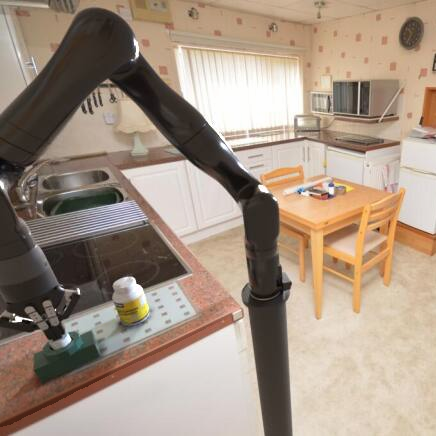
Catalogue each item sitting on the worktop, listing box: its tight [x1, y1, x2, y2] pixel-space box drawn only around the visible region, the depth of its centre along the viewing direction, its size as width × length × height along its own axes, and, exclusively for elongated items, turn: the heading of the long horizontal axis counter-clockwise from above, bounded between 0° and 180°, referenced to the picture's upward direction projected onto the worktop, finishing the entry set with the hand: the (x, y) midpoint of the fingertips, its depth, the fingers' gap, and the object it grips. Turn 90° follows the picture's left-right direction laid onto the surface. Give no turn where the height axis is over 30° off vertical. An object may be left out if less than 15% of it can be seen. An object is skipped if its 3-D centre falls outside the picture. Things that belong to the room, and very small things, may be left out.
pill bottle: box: [111, 276, 150, 326], centre depth 74 cm, size 6×6×12 cm
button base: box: [32, 329, 101, 384], centre depth 64 cm, size 10×6×6 cm, turn 131°
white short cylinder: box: [48, 331, 72, 351], centre depth 62 cm, size 3×3×2 cm
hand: (58, 337), depth 61 cm, fingers closed
